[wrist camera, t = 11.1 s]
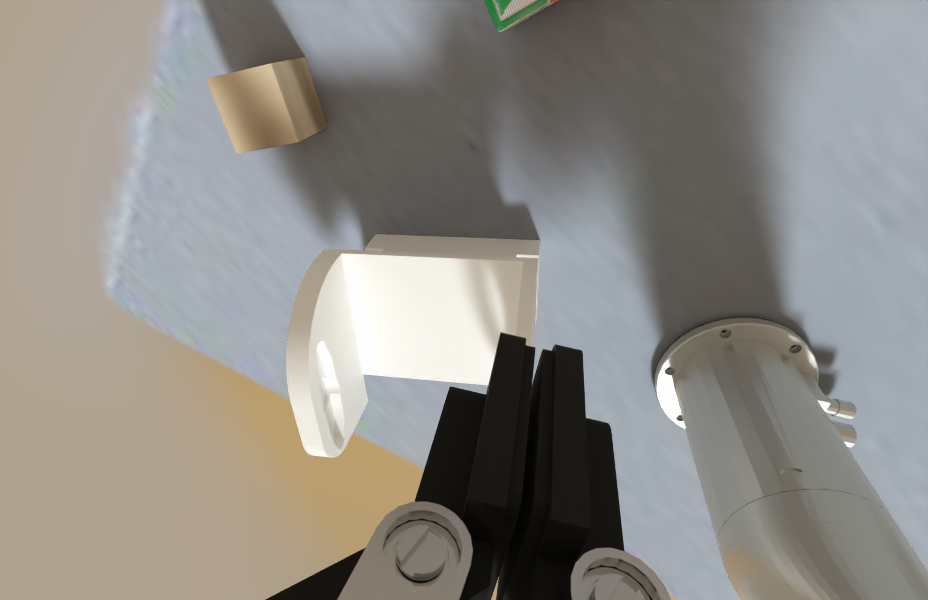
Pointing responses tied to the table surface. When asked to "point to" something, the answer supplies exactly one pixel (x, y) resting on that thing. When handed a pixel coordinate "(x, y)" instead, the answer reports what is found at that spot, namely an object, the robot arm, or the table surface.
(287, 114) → the beech block
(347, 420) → the white plastic bracket
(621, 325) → the table surface
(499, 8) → the stack of blocks
